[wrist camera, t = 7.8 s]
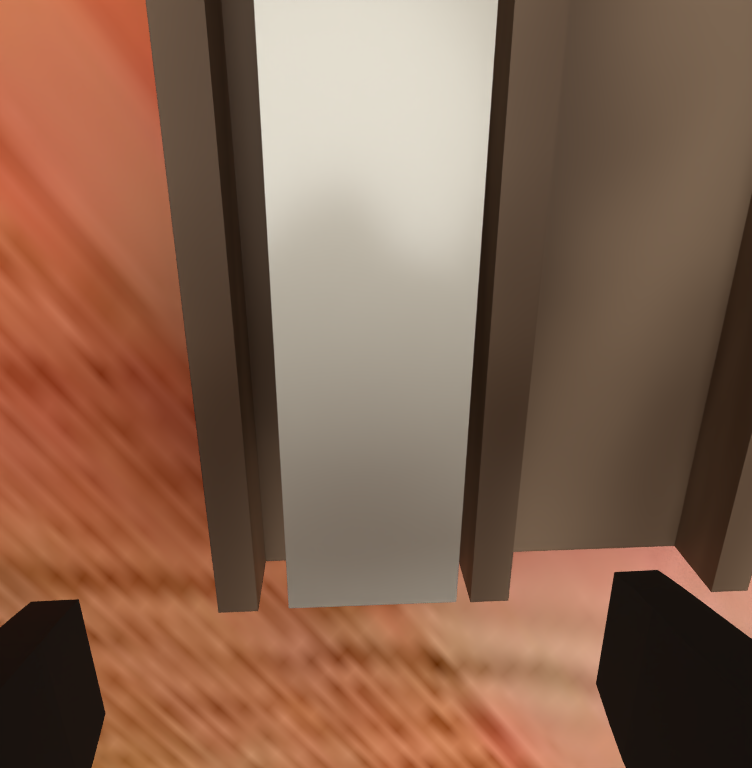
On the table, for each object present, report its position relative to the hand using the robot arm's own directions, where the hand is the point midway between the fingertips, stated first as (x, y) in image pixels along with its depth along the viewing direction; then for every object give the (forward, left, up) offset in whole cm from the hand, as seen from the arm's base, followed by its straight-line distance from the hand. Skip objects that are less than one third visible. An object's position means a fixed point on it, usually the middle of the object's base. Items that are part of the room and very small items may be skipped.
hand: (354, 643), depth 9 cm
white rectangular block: (0, +5, -8) cm, 10 cm away
